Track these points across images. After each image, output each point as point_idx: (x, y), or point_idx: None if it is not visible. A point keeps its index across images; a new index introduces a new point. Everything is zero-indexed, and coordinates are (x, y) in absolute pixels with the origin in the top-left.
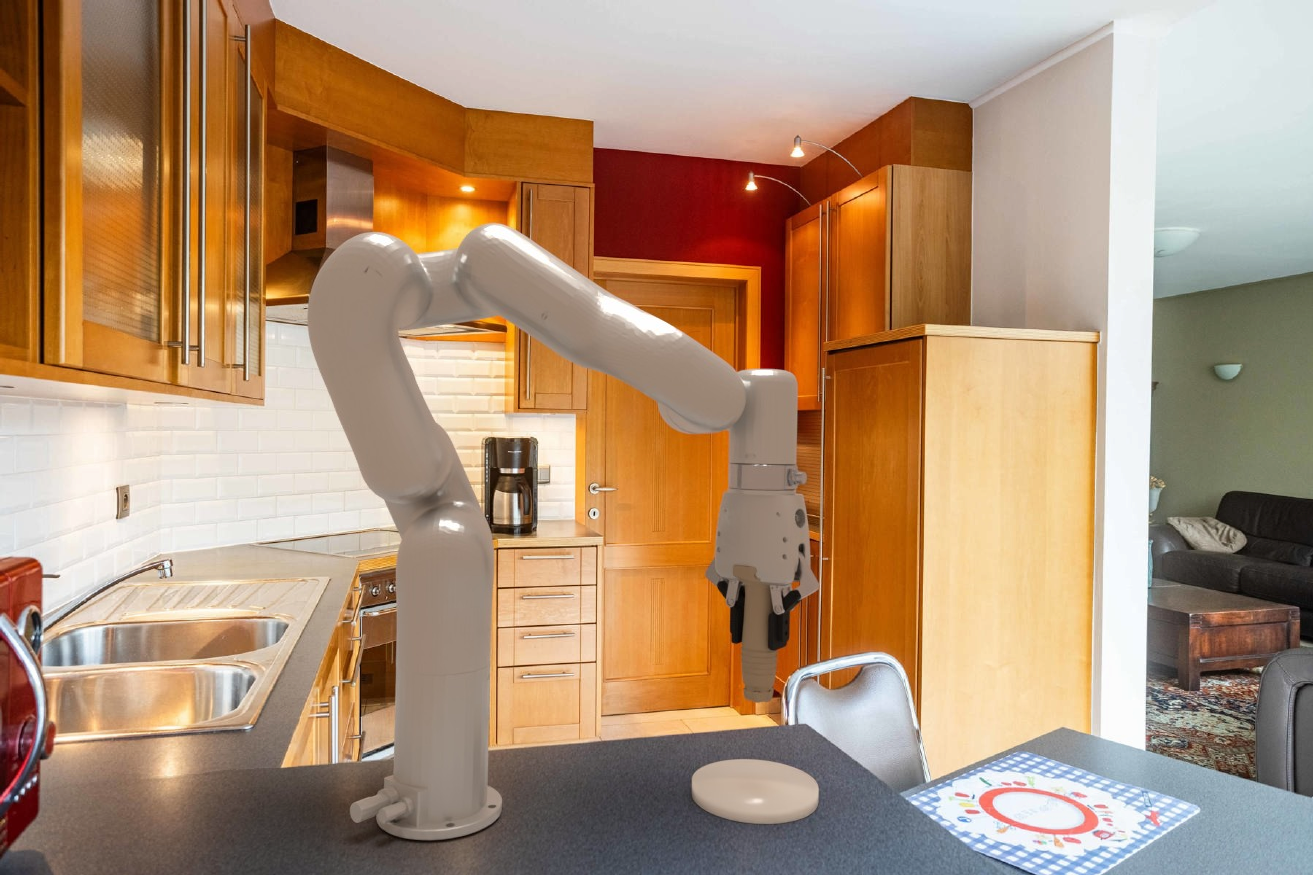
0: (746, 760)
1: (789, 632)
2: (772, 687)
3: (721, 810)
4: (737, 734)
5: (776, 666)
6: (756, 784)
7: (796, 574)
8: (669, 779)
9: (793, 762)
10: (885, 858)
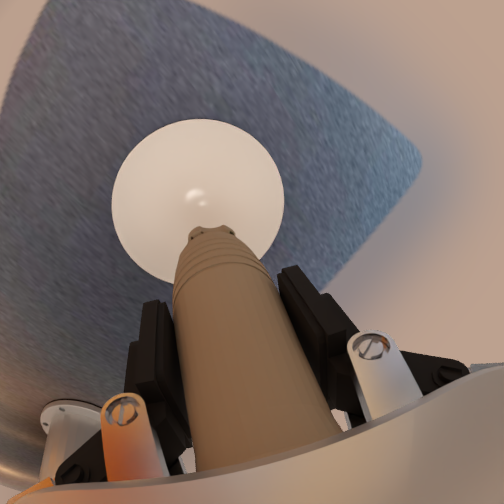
0: (133, 158)
1: (334, 300)
2: (232, 234)
3: None
4: (28, 63)
5: (255, 255)
6: (205, 211)
7: (472, 398)
8: (95, 255)
9: (153, 67)
10: (376, 212)
